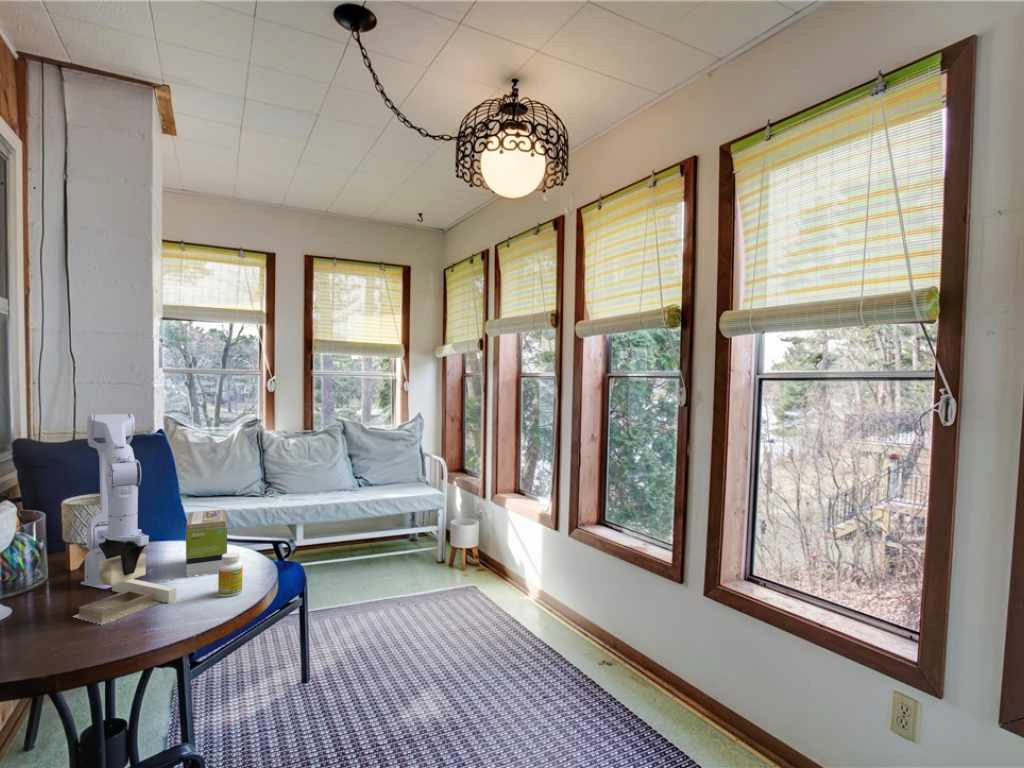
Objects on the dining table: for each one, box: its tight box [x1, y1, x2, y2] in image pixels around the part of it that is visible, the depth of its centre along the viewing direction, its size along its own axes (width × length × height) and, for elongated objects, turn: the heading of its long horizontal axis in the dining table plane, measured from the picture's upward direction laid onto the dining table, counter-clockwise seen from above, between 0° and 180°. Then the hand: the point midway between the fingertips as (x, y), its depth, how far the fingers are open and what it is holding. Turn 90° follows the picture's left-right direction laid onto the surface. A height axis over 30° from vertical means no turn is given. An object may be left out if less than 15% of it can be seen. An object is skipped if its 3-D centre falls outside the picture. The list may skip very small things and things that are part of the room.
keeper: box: [71, 590, 160, 626], centre depth 130 cm, size 10×13×2 cm
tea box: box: [185, 508, 228, 577], centre depth 161 cm, size 15×10×15 cm, turn 27°
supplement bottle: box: [217, 552, 244, 598], centre depth 141 cm, size 5×5×10 cm
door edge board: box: [111, 578, 177, 604], centre depth 139 cm, size 20×2×3 cm, turn 69°
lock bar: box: [99, 552, 147, 586], centre depth 131 cm, size 4×8×5 cm, turn 159°
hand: (122, 572), depth 131 cm, fingers closed on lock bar, 4 cm apart
